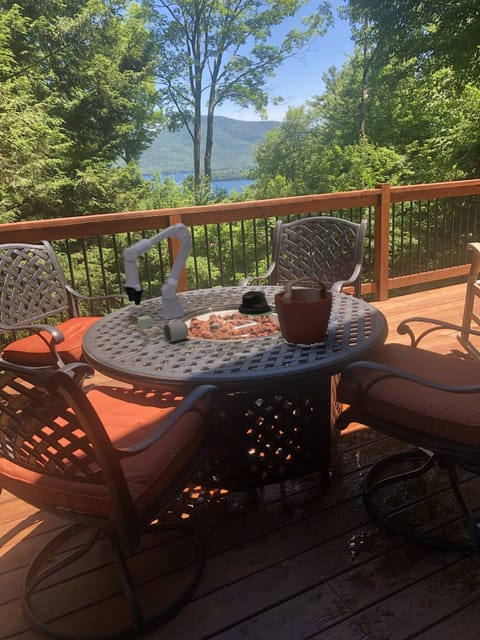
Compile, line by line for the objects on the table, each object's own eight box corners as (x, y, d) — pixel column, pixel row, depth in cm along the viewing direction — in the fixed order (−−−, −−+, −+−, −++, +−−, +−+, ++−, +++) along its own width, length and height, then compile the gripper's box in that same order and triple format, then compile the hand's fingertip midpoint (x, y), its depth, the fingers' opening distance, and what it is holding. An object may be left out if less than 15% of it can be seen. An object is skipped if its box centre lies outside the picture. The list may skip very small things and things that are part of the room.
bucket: (292, 354, 177) (292, 288, 170) (262, 338, 196) (260, 277, 188) (345, 342, 187) (347, 279, 180) (312, 327, 206) (312, 269, 199)
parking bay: (159, 325, 217) (159, 323, 216) (169, 332, 207) (169, 329, 207) (137, 330, 212) (137, 327, 211) (147, 337, 202) (147, 334, 202)
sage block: (148, 323, 221) (147, 315, 220) (152, 326, 217) (151, 317, 216) (137, 325, 219) (136, 317, 218) (141, 328, 215) (140, 319, 213)
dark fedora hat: (239, 305, 247) (238, 287, 244) (278, 306, 242) (277, 287, 240) (230, 316, 228) (229, 297, 226) (271, 317, 224) (271, 298, 221)
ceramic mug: (190, 340, 196) (188, 322, 194) (172, 344, 192) (170, 326, 190) (177, 334, 205) (176, 317, 203) (160, 338, 200) (158, 320, 198)
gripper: (118, 273, 224) (121, 301, 228) (128, 278, 213) (131, 307, 217) (132, 271, 228) (135, 299, 232) (143, 275, 216) (146, 305, 220)
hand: (134, 303), depth 224 cm, fingers open, 7 cm apart
